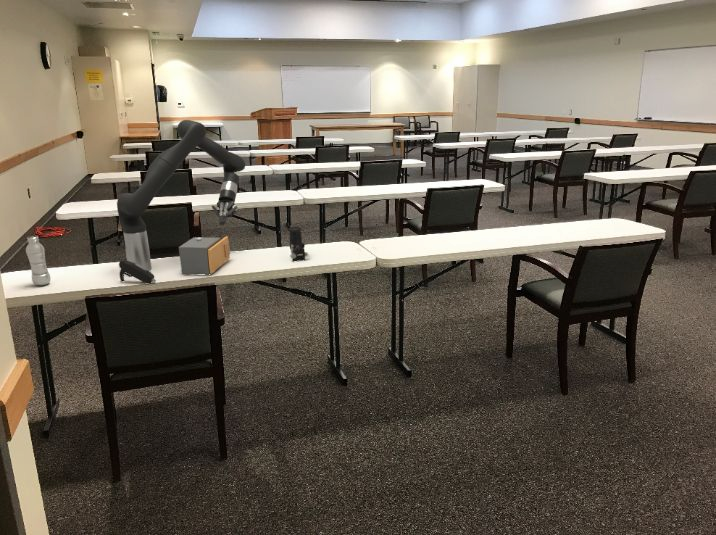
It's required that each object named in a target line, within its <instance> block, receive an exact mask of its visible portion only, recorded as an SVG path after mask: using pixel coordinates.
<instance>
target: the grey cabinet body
mask: <svg viewBox="0 0 716 535" xmlns="http://www.w3.org/2000/svg"><path fill="white" fill-rule="evenodd" d="M220 240H221V237H202V236H201V237H200V236H199V237H196V236H195V237H194V236H193V237H192V238H190V239H188V240H187V241H186V242H184V243H183V244H182V245H180V246H178V254H179V263H180V271H181V275H182V274H205V275H204V276H210V275H211V274H212V273H210V268H209V258H208V249H210V248H211V247H212V246H214V245H215V244H216V243H218V242H219V241H220ZM209 274H210V275H209Z"/></svg>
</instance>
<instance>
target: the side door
mask: <svg viewBox="0 0 716 535" xmlns="http://www.w3.org/2000/svg"><path fill="white" fill-rule="evenodd" d="M230 255H231V249H230V241H229V236H225V237H223V238H222V239H220V241H219V242H218V243H216V244H215V245H214V246H212V247H211V248H210V249H208V258H209V268H210V273H211V274H213V273H214V272H216V271H217V270H218V269H219V268H220V267H221V266H223V265H224V264H225V262H227V261H228V260H229V259H231V256H230Z"/></svg>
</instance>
